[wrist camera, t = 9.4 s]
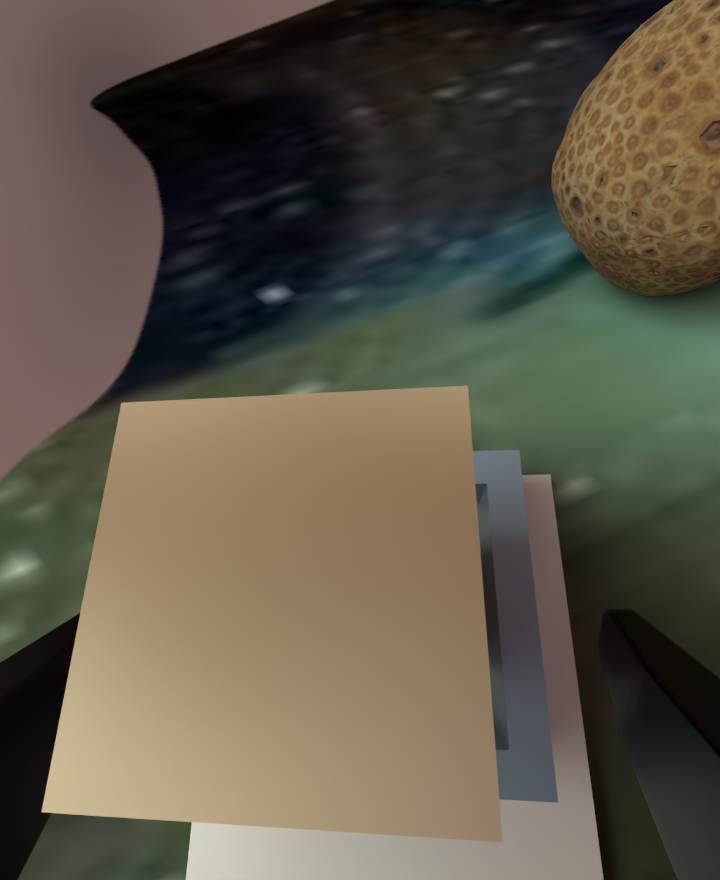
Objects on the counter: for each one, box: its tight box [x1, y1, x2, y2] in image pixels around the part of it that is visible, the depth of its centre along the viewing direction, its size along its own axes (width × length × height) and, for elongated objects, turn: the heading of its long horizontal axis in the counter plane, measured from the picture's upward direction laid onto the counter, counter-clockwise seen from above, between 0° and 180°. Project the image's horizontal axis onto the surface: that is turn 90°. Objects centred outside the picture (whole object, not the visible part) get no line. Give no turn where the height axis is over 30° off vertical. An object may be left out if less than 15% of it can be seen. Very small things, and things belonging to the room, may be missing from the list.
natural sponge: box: [552, 0, 720, 296], centre depth 16 cm, size 9×9×10 cm
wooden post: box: [42, 386, 503, 842], centre depth 11 cm, size 4×4×12 cm
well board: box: [186, 450, 604, 880], centre depth 14 cm, size 14×12×4 cm
